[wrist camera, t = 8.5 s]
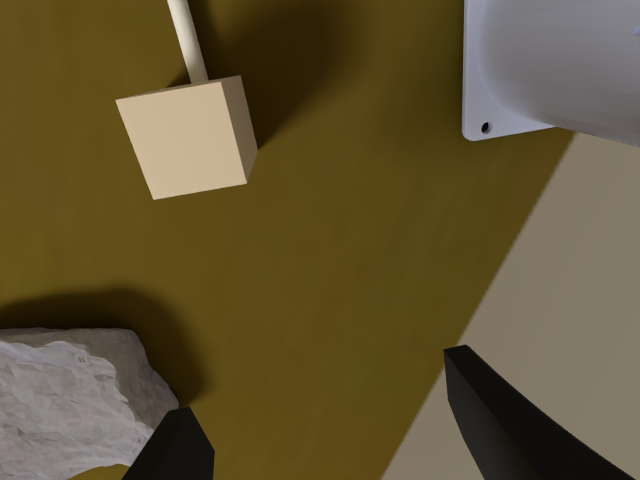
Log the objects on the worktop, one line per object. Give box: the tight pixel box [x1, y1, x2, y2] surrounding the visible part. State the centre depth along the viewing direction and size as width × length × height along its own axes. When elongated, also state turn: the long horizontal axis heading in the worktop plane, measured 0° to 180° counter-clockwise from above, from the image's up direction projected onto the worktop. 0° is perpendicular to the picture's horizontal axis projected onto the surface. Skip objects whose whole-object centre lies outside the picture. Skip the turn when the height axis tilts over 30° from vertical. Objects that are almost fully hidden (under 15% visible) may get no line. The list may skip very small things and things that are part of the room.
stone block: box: [0, 327, 179, 480], centre depth 21 cm, size 12×5×10 cm
